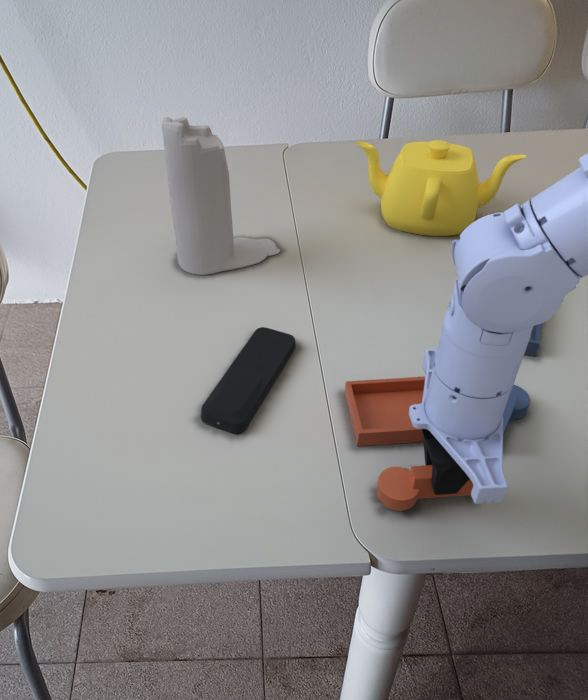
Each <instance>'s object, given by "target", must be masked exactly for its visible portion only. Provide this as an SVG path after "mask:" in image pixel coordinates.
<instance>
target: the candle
mask: <svg viewBox="0 0 588 700" xmlns="http://www.w3.org/2000/svg"><path fill="white" fill-rule="evenodd" d="M161 132H162V141H163V148H164V156H165V157H164V158H165V164H166V175H167V184H168V192H169V200H170V207H171V208H170V209H171V214H172V221H173V222H172V223H173V232H174V239H175V247H176V256H177V263H178V267H180V268H181V270H183V271H184V272H186V273H189V274H193V275H199V276H201V275H202V276H205V275H212V274H217V273H220V272H221V273H222V272H226V271H227V272H228V271H231V270H237V269H242V268H246V267H249V266H253V265H257V264H260V263H261V262H263V261H265V260H266V259H267V257H270V256H275V255H277V254H279V253H280V252H281V249H279V248H278V247H277V244H276V243H275V242H274V241H273V240H272V239H270V238H256V239H253V238H250V237H245V236H244V237H243V236H240V237H234V230H233V229H234V227H233V226H234V225H233V216H232V215H233V214H232V201H231V200H232V199H231V183H230V172H229V167H228V161H227V156H226V150H225V147H224V145H223V142H222V141H221V138H219V136H218V135H216V134H213V132H212V129H211V127H210V125H206V124H200V125H199V124H198V125H190V123H189V121H188V118H187V117H184V116H183V117H178V118H175V119H172V118H171V117H169V116H167V117H166V116H165V117H163V119H162V121H161Z"/></svg>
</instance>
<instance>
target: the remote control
mask: <svg viewBox="0 0 588 700" xmlns="http://www.w3.org/2000/svg"><path fill="white" fill-rule="evenodd" d="M296 347H297V342H296V337H295V335H292V334H290V333H287V332H283V331H280V330H276V329H272V328H269V327H265V326H260V327H258V328H256V329H255V330H254V332H253V333H252V335H251V336H250V337H249V339H248V340H247V342H246V343H245V345H244V346H243V347H242V349H241V350H240V352H239V353H238V355H237V356H236V357H235V358H234V360H233V361H232V362H231V364H230V366H229V367H228V369H227V370H226V372H224V374H223V375H222V377H221V378H220V379H219V381H218V382H217V384H216V385H215V387H214V388H213V390H212V391H211V392H210V394H209V396H208V397H207V398H206V400H204V402H203V404H202V406H201V409H200V410H201V411H200V419H201V421H202V422H203V423H204V424H206V425H209V426H212V427H215V428H218V429H220V430H223V431H226V432H228V433H232V434H241V433H243V432H244V431H245V430H246V429H247V427H248V426H249V424H250V423H251V421H252V420H253V418H254V416H255V414H256V413H257V411H258V410H259V408H260V407H261V405H262V403H263V402H264V400H265V399H266V397H267V395H268V393H269V392H270V390H271V388H272V387H273V386H274V384H275V382H276V380H277V379H278V378H279V376H280V374H281V373H282V371H283V370H284V368H285V366H286V364H287V363H288V361H289V360H290V358H291V357H292V355H293V353H294V352H295V350H296Z"/></svg>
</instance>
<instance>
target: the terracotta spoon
mask: <svg viewBox="0 0 588 700" xmlns="http://www.w3.org/2000/svg"><path fill="white" fill-rule="evenodd" d="M431 479H432V465H425V464H424V465H411V466H410V469H408V468H405V467H402V466H390V467H387V468H385V469H383V471H381V472H380V474H379V476H378V479H377V485H376V490H375V491H376V497H377V499H378V500H379V502H380V503H381V504H382V505H383V506H385V507H386V508H387V509H389V510H393V511H397V512H401V511H402V512H403V511H407V510H409V509H411V508H413V507H414V506H415V505H416V503H417V501H418V499H432V498H446V497H448V498H449V497H462V496H463V497H464V496H471V491H472V488H473V483H472V481H471V480H469V481H468V482H467V483H466V484H465V485H464V486H463V487H462V488H461V489H460V490H459V491H458V492H457V494H443V495H435V494H434V491H433V488H432V481H431Z"/></svg>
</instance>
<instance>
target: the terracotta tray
mask: <svg viewBox="0 0 588 700" xmlns="http://www.w3.org/2000/svg"><path fill="white" fill-rule="evenodd" d="M425 376H426V375H425ZM425 376H411V377H395V378H394V377H393V378H380V379H379V378H378V379H364V380H363V379H362V380H347V381H345V385H344V399H345V402H346V407H347V411H348V415H349V419H350V424H351V427H352V431H353V435H354V440H355V444H356V446H357V447H362V446H363V447H364V446H379V445H391V444H392V445H393V444H394V445H395V444H409V443H410V444H411V443H424V440H423V434H422V430H421V429H417V428H415V427H414V426H413V425H412V423H411V420H410V417H409V408H410V406H411V405H414V404H419V403H422V399H423V391H424V383H425Z"/></svg>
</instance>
